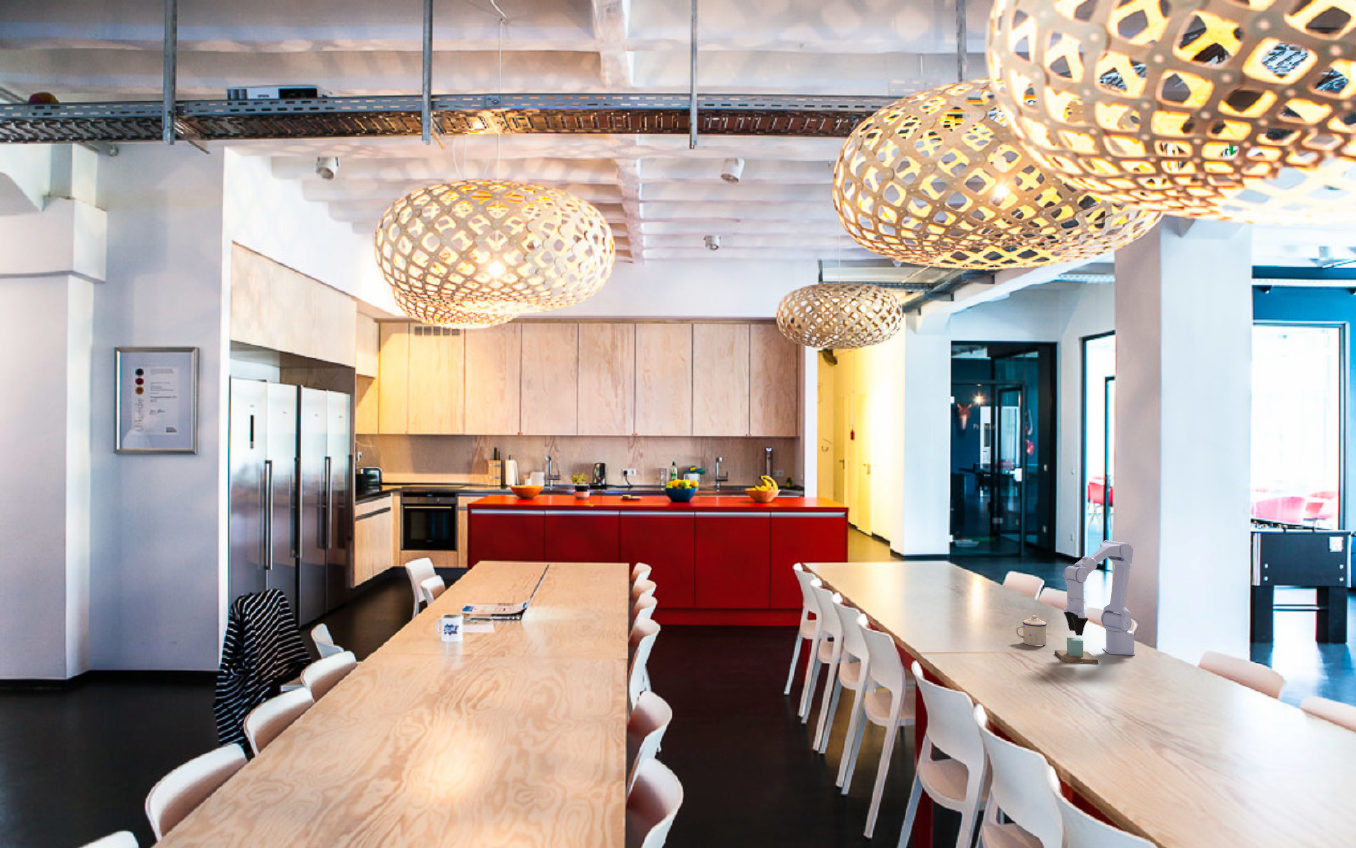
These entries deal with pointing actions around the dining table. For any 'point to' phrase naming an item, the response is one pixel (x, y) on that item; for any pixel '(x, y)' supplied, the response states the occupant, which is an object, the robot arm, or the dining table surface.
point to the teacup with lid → (1033, 631)
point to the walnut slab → (1076, 657)
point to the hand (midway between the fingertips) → (1075, 633)
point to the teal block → (1075, 646)
